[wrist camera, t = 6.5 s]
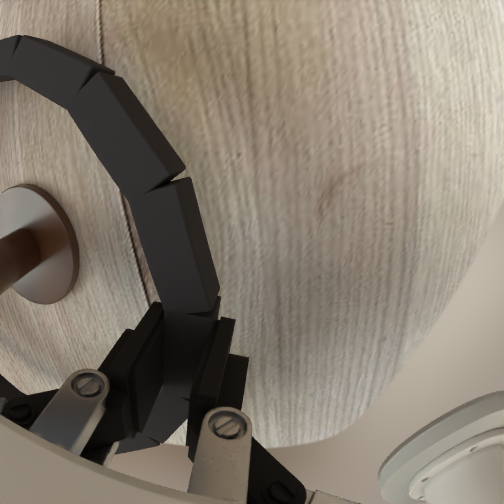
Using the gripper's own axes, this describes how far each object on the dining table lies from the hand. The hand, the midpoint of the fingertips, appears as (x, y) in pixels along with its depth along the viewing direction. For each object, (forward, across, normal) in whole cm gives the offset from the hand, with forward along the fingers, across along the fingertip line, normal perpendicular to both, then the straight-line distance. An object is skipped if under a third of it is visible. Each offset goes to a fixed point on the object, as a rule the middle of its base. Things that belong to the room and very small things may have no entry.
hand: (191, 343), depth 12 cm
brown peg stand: (+4, +11, 0) cm, 11 cm away
